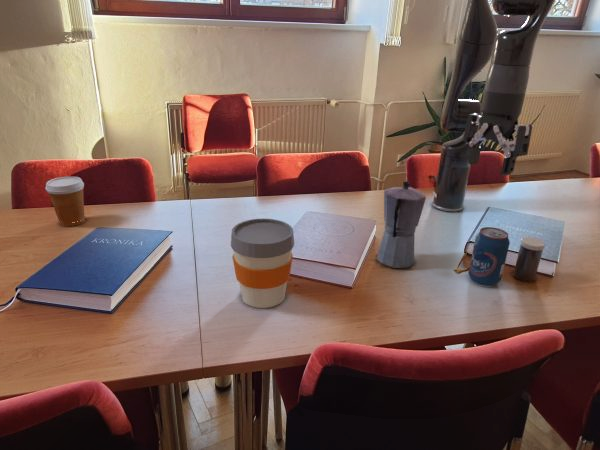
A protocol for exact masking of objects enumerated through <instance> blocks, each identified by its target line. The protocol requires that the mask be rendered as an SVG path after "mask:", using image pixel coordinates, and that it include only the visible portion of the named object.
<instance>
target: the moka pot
mask: <svg viewBox="0 0 600 450" xmlns="http://www.w3.org/2000/svg"><path fill="white" fill-rule="evenodd" d="M402 183H403V184H402V185H403V187H401V186H400V187H399V186H398V187H397V186H393V187H390V188H386V189H384V190H383V200H384V201H383V209H384V210H383V220H384V232H383V235H382V238H381V240H380V241H381V242H380V245H379V248H378V253H377V256H376V260H377V261H378V262H379V263H380V264H382V265H384V266H387V267H389V268H394V269H406V268H410V267H412V266H414V262H415V233H416V228H417V227H418V226H419V223H420V219H421V216H422V212H423V210H424V206H425V203H426V199H427V196H426V195H425V194H424V193H423V191H420V190H417V189H414V187H411V186H410V184H411V182H409V181H407V180H405V181H403V182H402Z"/></svg>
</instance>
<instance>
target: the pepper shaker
mask: <svg viewBox="0 0 600 450" xmlns="http://www.w3.org/2000/svg"><path fill="white" fill-rule="evenodd" d="M519 245H520V246H519V249H518V254H517V256H516V257H517V258H516V261H515V265H514V269H513V273H512V275H513V277H514V278H516V279H517V280H519V281H522V282H534V281H535V280H536V278H537V274H538V270H539V266H540V263H541V259H542V256H543V252H544V249H545V246H546V243H545V242H544V241H543V240H541V239H539V238H536V237H532V236H524V237H522V238H521V239H520V244H519Z"/></svg>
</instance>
